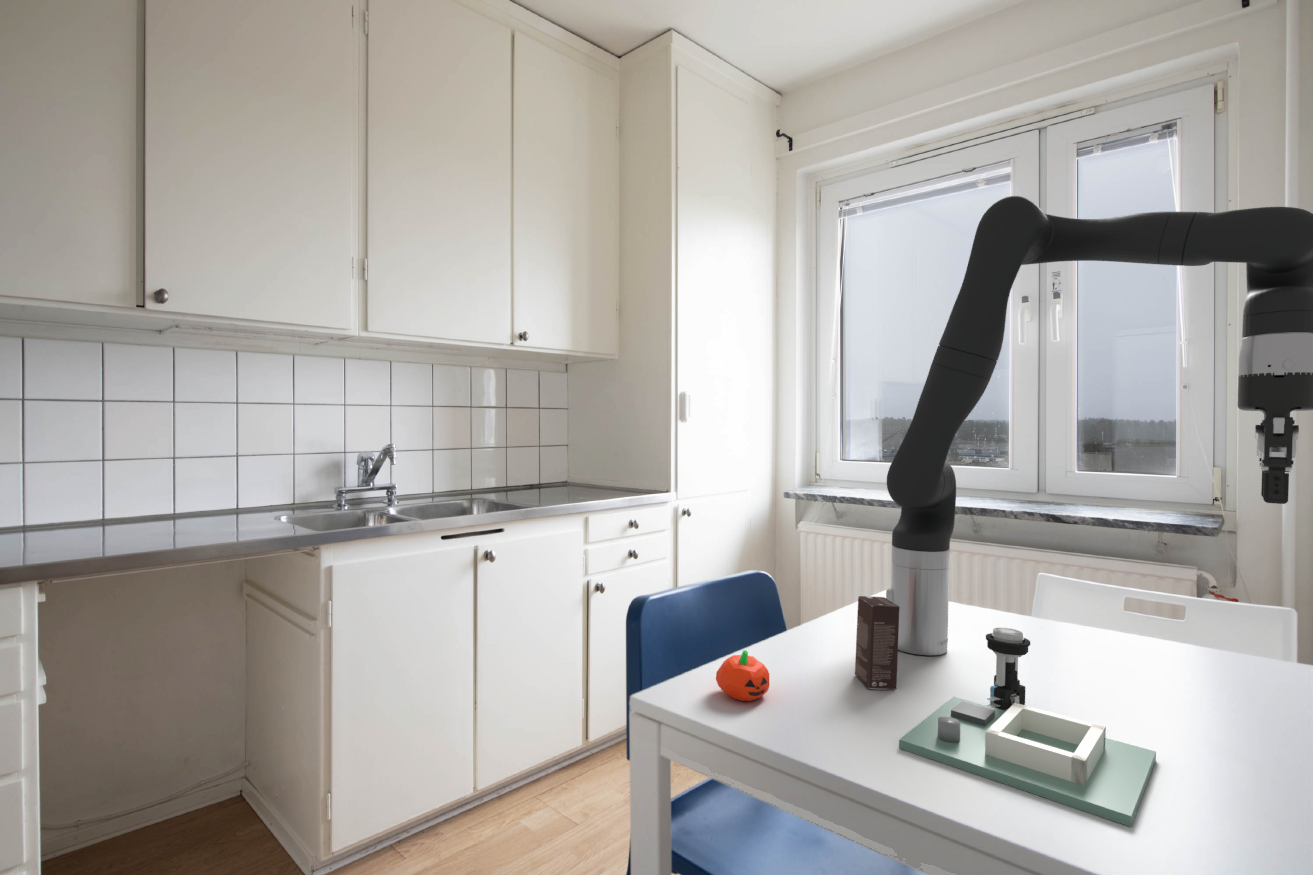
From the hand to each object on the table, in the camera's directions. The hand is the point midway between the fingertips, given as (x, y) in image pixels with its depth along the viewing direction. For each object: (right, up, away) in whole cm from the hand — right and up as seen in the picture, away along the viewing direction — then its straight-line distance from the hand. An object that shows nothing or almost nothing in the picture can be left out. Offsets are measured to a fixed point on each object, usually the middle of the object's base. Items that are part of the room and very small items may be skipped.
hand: (1273, 500), depth 84 cm
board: (-36, -28, -8) cm, 46 cm away
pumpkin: (-66, -28, +8) cm, 72 cm away
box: (-46, -28, +13) cm, 55 cm away
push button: (-31, -28, +6) cm, 43 cm away
